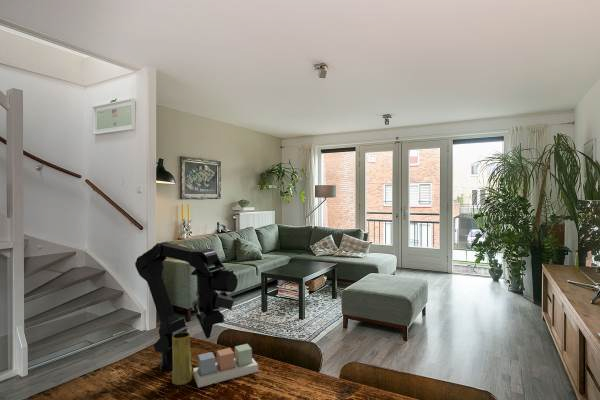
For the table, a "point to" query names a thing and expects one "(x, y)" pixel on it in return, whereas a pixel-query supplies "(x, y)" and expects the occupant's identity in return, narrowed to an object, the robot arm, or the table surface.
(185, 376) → the vase
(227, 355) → the salmon block
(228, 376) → the button board
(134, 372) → the table surface
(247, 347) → the sage button
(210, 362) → the pale blue block
